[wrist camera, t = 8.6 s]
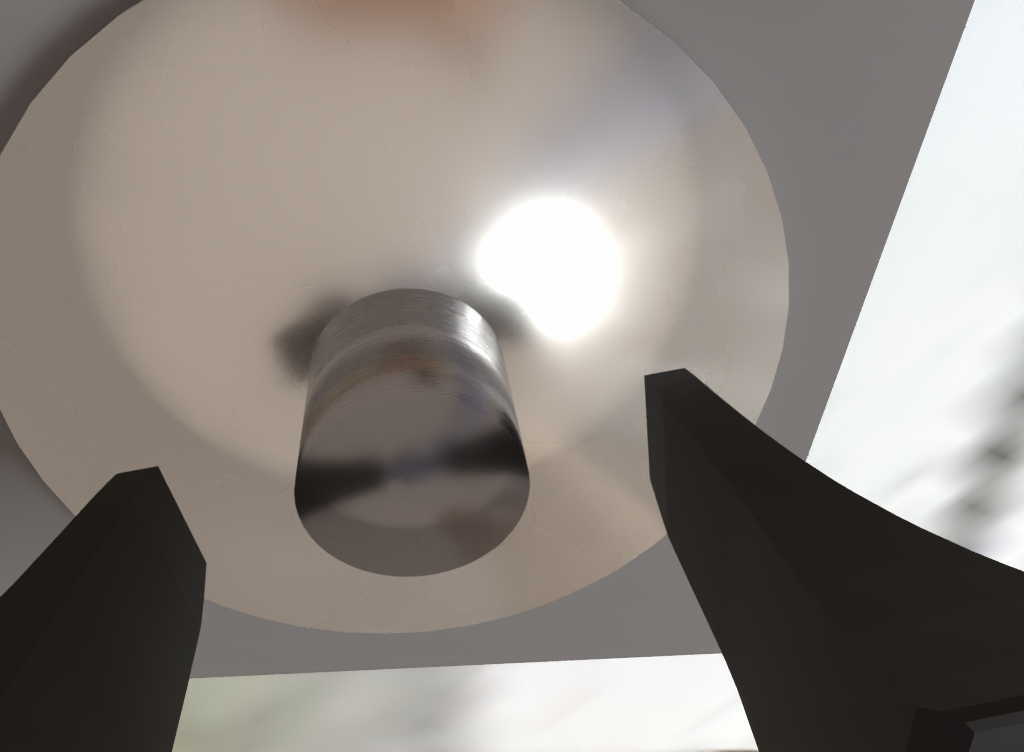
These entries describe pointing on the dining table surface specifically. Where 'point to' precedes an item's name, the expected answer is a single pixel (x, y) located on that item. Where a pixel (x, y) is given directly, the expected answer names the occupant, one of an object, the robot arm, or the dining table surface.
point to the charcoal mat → (809, 328)
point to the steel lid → (382, 290)
